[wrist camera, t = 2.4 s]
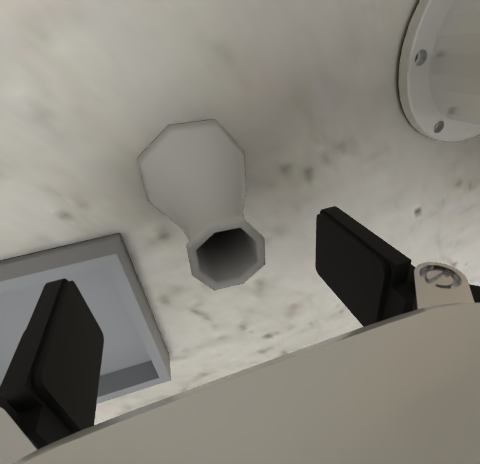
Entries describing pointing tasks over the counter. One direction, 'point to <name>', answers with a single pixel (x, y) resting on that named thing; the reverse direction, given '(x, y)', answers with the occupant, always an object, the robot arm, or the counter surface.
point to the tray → (100, 304)
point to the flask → (204, 199)
